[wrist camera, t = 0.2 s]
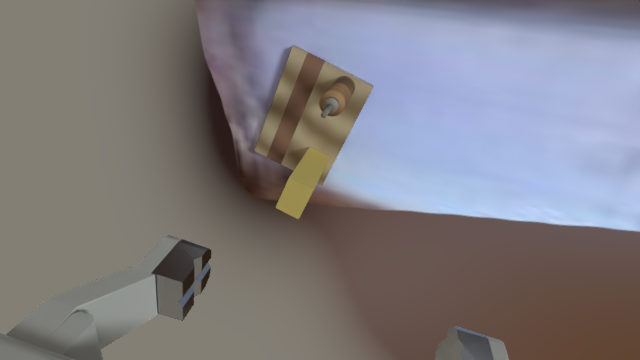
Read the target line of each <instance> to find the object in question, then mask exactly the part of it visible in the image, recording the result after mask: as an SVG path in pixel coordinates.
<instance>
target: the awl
mask: <svg viewBox="0 0 640 360" xmlns="http://www.w3.org/2000/svg"><path fill="white" fill-rule="evenodd" d="M354 90H355V84H354V82H353V80H352V79H351V78H349V77H347V76H341V77H339V78H338V79H337V80H336V81H335V82H334V83H333V84H332V85H331V86H330V87H329V88H328V90H327V91H326V92H325V93H324V94H323V95H322V96H321V98H320V101H319V106H320V109H321V111H322V113H321V117H322V118H326V116H331V117H334V116H337V115H339V114H341V112H342V111H343V109H344V108H345V106H346V104H347V103H348V101H349V99H350V98H351V96H352V94H353V93H354Z"/></svg>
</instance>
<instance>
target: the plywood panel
mask: <svg viewBox="0 0 640 360" xmlns="http://www.w3.org/2000/svg"><path fill="white" fill-rule="evenodd" d="M341 76H347V77H349V78H351V79H352V80H353V82H354V84H355V90H354V93H353V94H352V96H351V98H350V99H349V101H348V103H347V104H346V106H345V108H344V109H343V111H342V112H341V114H339V115H337V116H334V117H331V116H326V118H322V117H321V113H322V111H321V109H320V106H319V101H320V98H321V96H322V95H323V94H324V93H325V92H326V91H327V90H328V88H329V87H330V86H331V85H332V84H333V83H334V82H335V81H336V80H337V79H338V78H339V77H341ZM372 88H373V85H371V84H369V83H367V82H365V81H363V80H361V79H359V78H357V77H355V76H353V75H351V74H350V73H348V72H346V71H344V70H342V69H340V68H338V67H336V66H334V65H332V64H330V63H328V62H326V61H324V60H322V59H320V58H318V57H316V56H314V55H312V54H310V53H308V52H306V51H304V50H302V49H300V48H299V47H297V46H293V47H292V49H291V52H290V55H289V57H288V60H287V63H286V66H285V68H284V71H283V74H282V77H281V79H280V82H279V85H278V88H277V90H276V93H275V96H274V99H273V101H272V104H271V107H270V110H269V112H268V115H267V118H266V121H265V123H264V126H263V129H262V132H261V134H260V137H259V140H258V143H257V145H256V148H255V151H256V152H258V153H260V154H262V155H264V156H266V157H268V158H270V159H272V160H274V161H276V162H278V163H279V164H281V165H283V166H285V167H287V168H289V169H291V170H293V171H294V170H295V168H296V167H297V165H298V164H299V162H300V161H301V159H302V158H303V156H304V155H305V153H306V152H307V150H308V149H309V147H311V148H313V149H315V150H317V151H319V152H321V153H323V154H325V155H327V156H329V157H330V158H329V160H328V162H327V164H326V166H325V168H324V170H323V172H322V174H321V176H320V178H319V180H318V182H317V183H319V184H321V185H322V184H323V182H324V181H325V179H326V177H327V175H328V173H329V171H330V169H331V167H332V165H333V163H334V161H335V159H336V158H337V156H338V154H339V152H340V150H341V148H342V146H343V144H344V142H345V140H346V138H347V136H348V134H349V133H350V131H351V129H352V127H353V125H354V123H355V121H356V119H357V117H358V115H359V113H360V111H361V110H362V108H363V106H364V104H365V102H366V100H367V98H368V96H369V94H370V92H371V90H372Z"/></svg>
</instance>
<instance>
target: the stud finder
mask: <svg viewBox="0 0 640 360" xmlns="http://www.w3.org/2000/svg"><path fill="white" fill-rule="evenodd" d="M329 158H330V157H329V156H327V155H325V154H323V153H321V152H319V151H317V150H315V149H313V148H311V147H309V149H308V150H307V152H306V153H305V155H304V156H303V158H302V159H301V161H300V162H299V164H298V165H297V167H296V168H295V170H294V171H293V173H292V174H291V175H290V177H289V178H288V180H287V183H286V185H285V187H284V189H283V192H282V194H281V196H280V198H279V201H278V203H277V206H276V208H277V209H279V210H281V211H283V212H285V213H287V214H289V215H291V216H293V217H295V218H297V219H299V218H300V216H301V214H302V212H303V210H304V208H305V206H306V204H307V202H308V200H309V198H310V196H311V194H312V192H313V190H314V188H315V186H316V184H317V182H318V180H319V178H320V176H321V174H322V172H323V170H324V168H325V166H326V164H327V162H328V160H329Z"/></svg>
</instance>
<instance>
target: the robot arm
mask: <svg viewBox="0 0 640 360" xmlns="http://www.w3.org/2000/svg"><path fill="white" fill-rule="evenodd" d="M210 258H211V250H210V249H209V248H206V247H203V246H200V245H197V244H194V243H191V242H189V241H186V240H183V239H179V238H176V237H173V236H170V235H168V236H166V237H164V238H163V239H162V240H161V241H160V242H159V243H158V244H157V245H156V246H155V247H154V248H153V249H152V250H151V251H150V252H149V254H148V255H147V256H146V257H145V258H144V259H143V260H142V261H141V262H140V263H139V264H138V265H137V266H136V267H135V268H134V267H128V268H126V269H123V270H120V271H118V272H115V273H113V274H110V275H107V276H105V277H102V278H100V279H97V280H94V281H92V282H89V283H86V284H84V285H81V286H79V287H76V288H73V289H71V290H68V291H65V292H63V293H60V294H57V295H55V296H52V297H50V298H47V299H46V300H45V301H44V302H43V303H41V304H40V305H39V306H38V307H37V308H36V309H35V310H33V311H32V312H31V313H30V314H29V315H28V316H27V317H25V318H24V319H23V320H22V321H21V322H20V323H19V324H17V325H16V326H15V327H14V328H13V329H12V330H11V331H9V332H8V333H7V334H6V335H4V334H1V333H0V360H103V357H102V353H101V349H102V348H104V347H105V346H107V345H109V344H110V343H112V342H114V341H115V340H117V339H119V338H120V337H122V336H123V335H125V334H127V333H128V332H130V331H132V330H133V329H135V328H137V327H139V326H140V325H142V324H143V323H145V322H147V321H148V320H150V319H152V318H153V317H155V316H157V313H158V314H161V315H165V316H168V317H172V318H175V319H178V320H181V321H183V320H184V318H185V317H186V315H187V314H188V312H189V311H190V309H191V307H192V306H193V305H194V297H195V296H197V295H199V294H201V292H202V291H203V289H204V288H205V286H206V284H207V281H208V279H209V276H210V270H211V266H210V265H209V263H208V261H209V260H210ZM447 337H448V339H445V340H443V341H441V342H440V344H439V346H438V348H437V352H436V355H435V360H509V358H508V355H507V352H506V349H505V345H504V343H503V342H502V341H500V340H498V339H494V338H491V337H488V336H484V335H482V334H479V333H475V332H472V331H469V330H465V329H462V328H459V327H456V326H452V327H451V328H450V329H449V330H448V332H447Z"/></svg>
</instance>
